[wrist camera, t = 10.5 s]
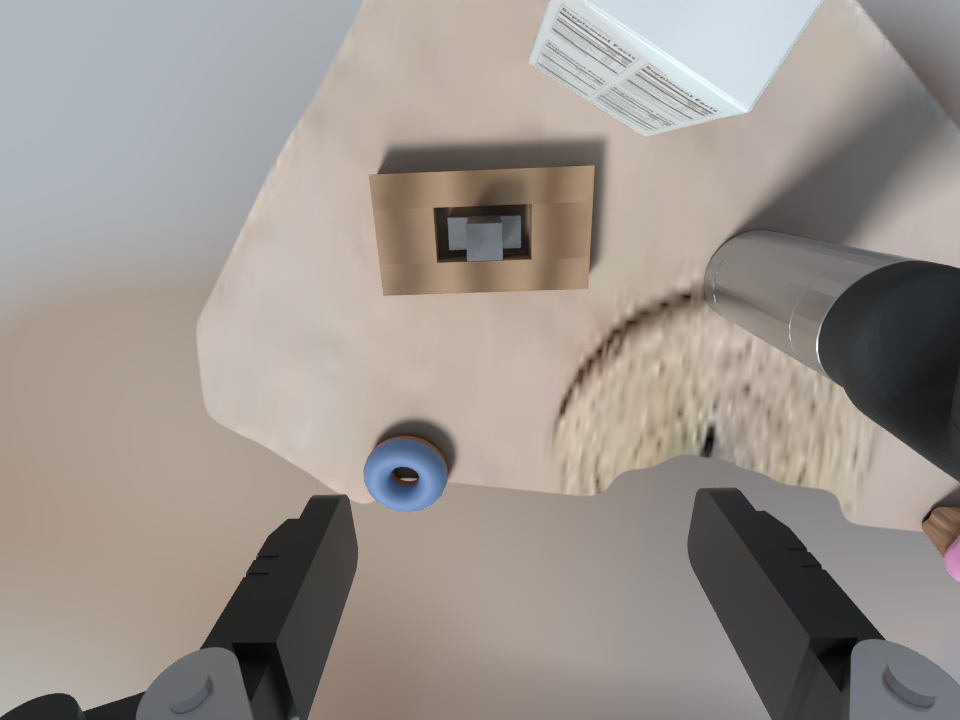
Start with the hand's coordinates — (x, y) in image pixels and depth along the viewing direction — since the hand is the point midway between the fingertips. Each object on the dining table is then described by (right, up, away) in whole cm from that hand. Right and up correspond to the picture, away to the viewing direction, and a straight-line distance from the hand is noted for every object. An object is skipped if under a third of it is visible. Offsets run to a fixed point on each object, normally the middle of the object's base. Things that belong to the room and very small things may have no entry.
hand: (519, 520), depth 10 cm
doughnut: (-10, -9, +45) cm, 47 cm away
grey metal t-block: (0, +17, +34) cm, 38 cm away
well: (-1, +17, +34) cm, 38 cm away
